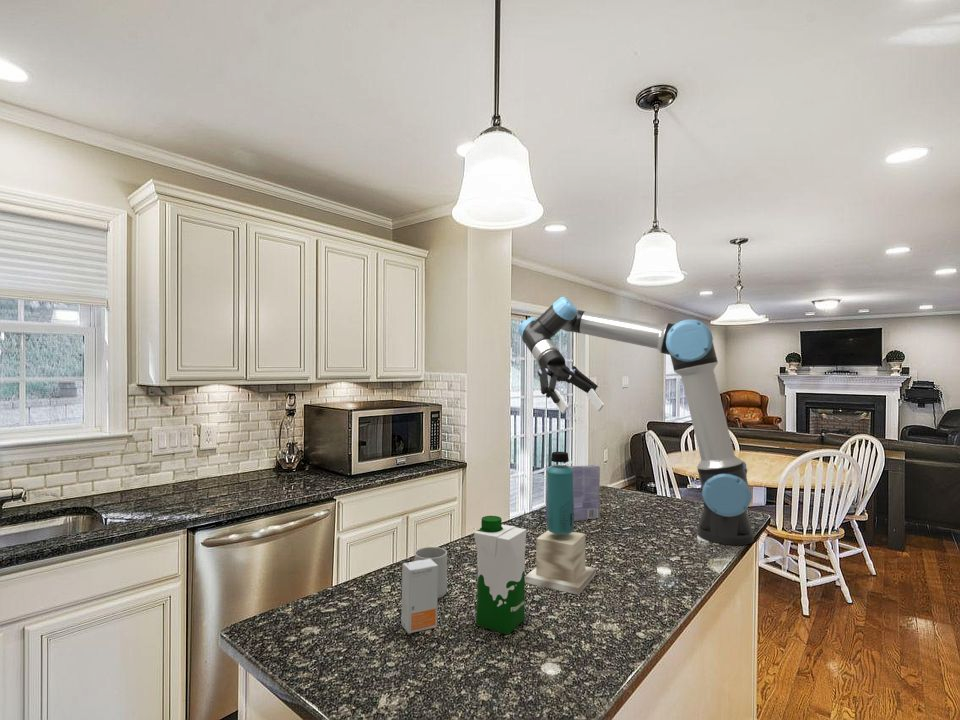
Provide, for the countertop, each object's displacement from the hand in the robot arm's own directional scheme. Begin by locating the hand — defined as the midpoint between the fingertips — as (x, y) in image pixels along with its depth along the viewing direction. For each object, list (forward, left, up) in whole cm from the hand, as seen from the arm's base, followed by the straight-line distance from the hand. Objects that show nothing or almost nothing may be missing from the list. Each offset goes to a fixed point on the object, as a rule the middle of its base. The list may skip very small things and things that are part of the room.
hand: (583, 409), depth 145 cm
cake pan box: (+11, -23, -39) cm, 47 cm away
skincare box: (+14, +60, -39) cm, 72 cm away
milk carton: (+1, +51, -39) cm, 64 cm away
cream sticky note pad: (-2, +25, -38) cm, 46 cm away
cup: (+21, +48, -39) cm, 65 cm away
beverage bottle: (-2, +25, -29) cm, 38 cm away
